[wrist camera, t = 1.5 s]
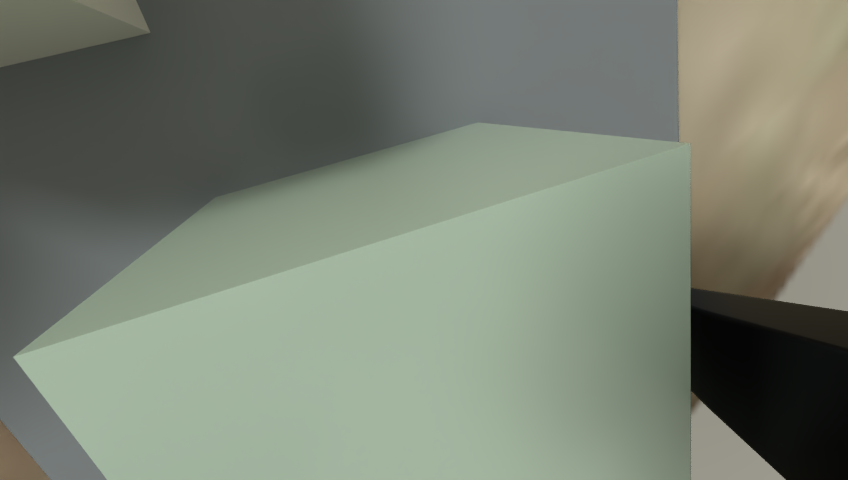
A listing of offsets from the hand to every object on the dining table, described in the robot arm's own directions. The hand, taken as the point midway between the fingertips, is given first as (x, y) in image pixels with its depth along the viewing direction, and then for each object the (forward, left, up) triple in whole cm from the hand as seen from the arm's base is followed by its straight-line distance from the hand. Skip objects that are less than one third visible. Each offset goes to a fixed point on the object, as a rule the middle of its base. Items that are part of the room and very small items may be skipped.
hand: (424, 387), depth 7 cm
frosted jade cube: (0, 0, -5) cm, 5 cm away
